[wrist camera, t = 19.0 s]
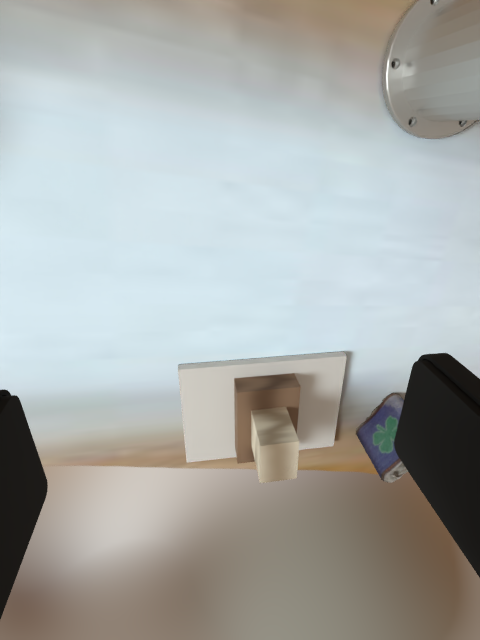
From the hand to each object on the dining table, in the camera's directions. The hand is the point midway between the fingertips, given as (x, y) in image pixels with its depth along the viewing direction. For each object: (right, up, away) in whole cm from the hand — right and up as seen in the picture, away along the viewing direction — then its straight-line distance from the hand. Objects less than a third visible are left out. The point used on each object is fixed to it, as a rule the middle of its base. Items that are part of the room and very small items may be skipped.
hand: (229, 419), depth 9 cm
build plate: (+3, -10, +43) cm, 44 cm away
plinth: (+4, -10, +42) cm, 43 cm away
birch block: (+4, -12, +39) cm, 41 cm away
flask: (+21, -12, +47) cm, 53 cm away
